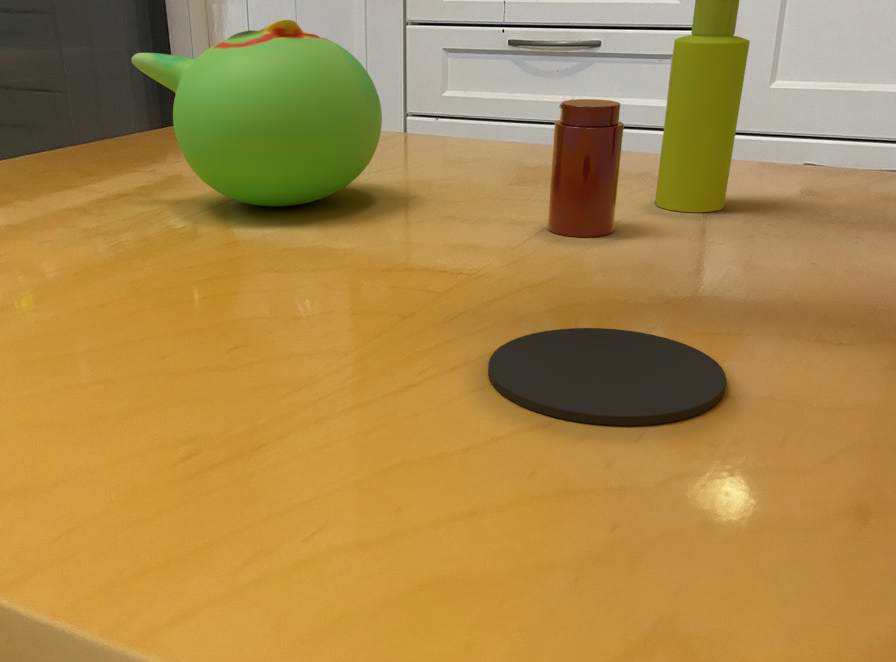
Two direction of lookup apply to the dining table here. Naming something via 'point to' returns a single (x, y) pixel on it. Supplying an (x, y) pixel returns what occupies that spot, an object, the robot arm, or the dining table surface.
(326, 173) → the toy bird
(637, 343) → the coaster
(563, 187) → the jar
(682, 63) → the soap dispenser
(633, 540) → the dining table surface
